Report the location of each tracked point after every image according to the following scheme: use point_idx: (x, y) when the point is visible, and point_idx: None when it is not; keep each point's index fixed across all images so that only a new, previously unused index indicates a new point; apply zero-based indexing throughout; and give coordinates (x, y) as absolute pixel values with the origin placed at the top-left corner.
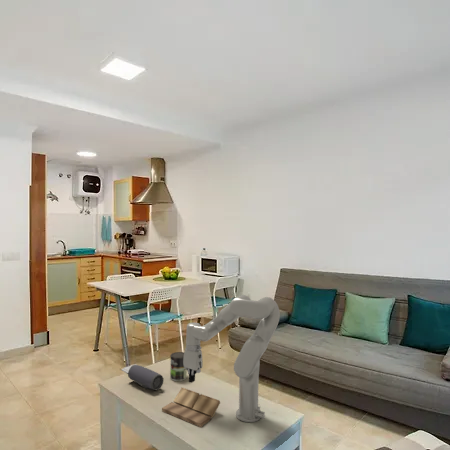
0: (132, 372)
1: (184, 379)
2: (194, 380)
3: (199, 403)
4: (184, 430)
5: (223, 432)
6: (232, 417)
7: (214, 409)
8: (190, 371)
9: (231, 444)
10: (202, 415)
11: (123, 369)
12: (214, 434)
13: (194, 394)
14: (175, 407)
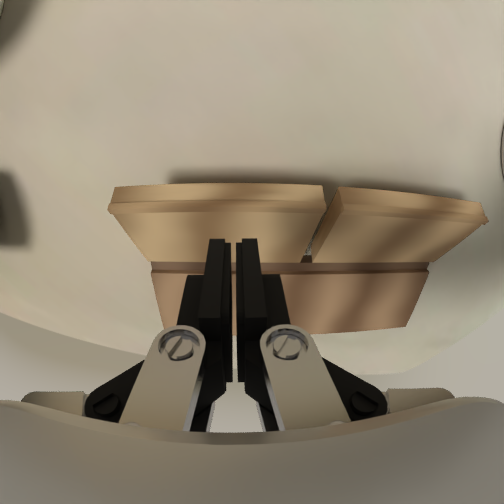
0: None
1: (2, 6)
2: (256, 245)
3: (354, 244)
4: (351, 355)
5: (474, 291)
6: (493, 190)
7: (451, 247)
8: (198, 403)
9: (491, 315)
10: (394, 282)
11: None
12: (450, 314)
13: (280, 217)
14: None
